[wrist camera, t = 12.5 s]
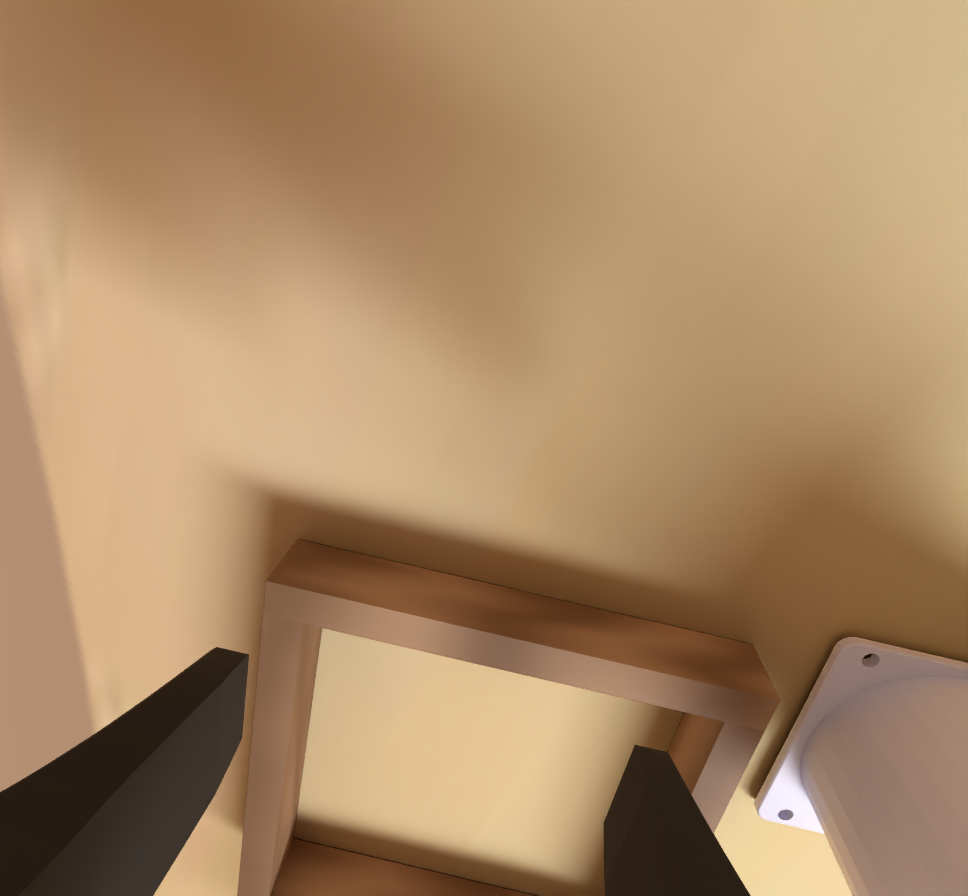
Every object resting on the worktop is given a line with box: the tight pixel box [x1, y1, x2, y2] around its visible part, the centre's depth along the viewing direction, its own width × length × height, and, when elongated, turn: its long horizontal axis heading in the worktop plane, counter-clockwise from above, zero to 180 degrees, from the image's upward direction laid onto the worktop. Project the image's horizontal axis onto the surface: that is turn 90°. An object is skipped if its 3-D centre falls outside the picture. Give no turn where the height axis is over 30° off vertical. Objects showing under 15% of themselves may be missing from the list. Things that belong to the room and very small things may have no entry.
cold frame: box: [237, 539, 780, 896], centre depth 22 cm, size 15×15×2 cm
